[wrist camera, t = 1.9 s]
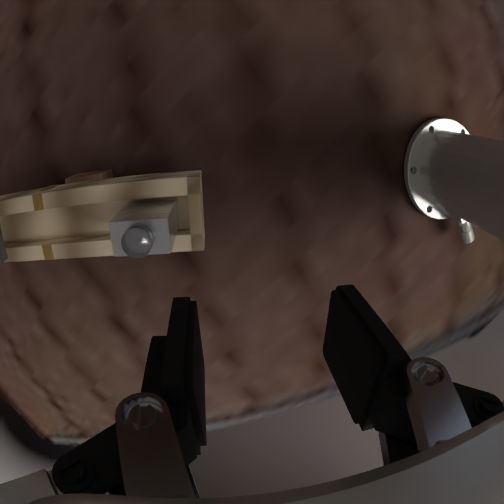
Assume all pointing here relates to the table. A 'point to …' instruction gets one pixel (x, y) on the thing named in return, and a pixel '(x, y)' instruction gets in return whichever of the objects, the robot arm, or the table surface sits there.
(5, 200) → the beam
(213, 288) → the table surface
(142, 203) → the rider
